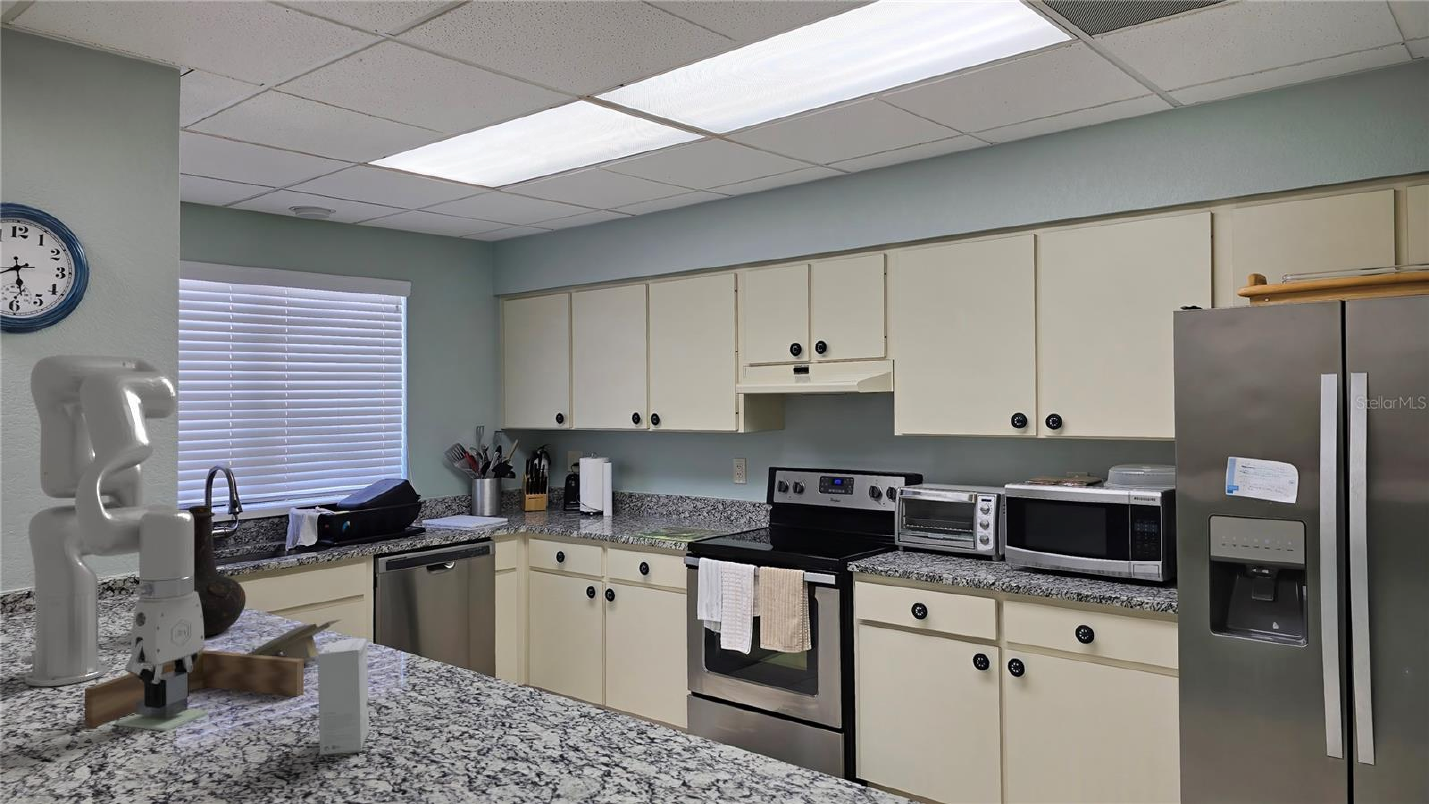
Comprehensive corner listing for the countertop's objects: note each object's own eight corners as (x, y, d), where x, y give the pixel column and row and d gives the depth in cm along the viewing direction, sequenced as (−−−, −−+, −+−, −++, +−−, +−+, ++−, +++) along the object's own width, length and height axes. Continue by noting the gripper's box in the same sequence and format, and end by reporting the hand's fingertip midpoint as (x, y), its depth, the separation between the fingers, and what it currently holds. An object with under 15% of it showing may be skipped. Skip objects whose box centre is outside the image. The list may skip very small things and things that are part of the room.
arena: (84, 726, 142) (84, 688, 142) (203, 683, 164) (203, 650, 164) (196, 741, 136) (196, 701, 136) (303, 693, 158) (303, 659, 158)
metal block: (166, 718, 143) (166, 680, 143) (136, 714, 144) (136, 676, 144) (187, 709, 146) (187, 672, 146) (158, 706, 148) (157, 669, 148)
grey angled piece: (249, 701, 166) (311, 647, 166) (223, 664, 167) (285, 610, 168) (300, 688, 182) (357, 638, 182) (277, 653, 184) (333, 604, 184)
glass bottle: (180, 648, 187) (179, 512, 186) (135, 636, 196) (135, 507, 196) (262, 630, 202) (262, 504, 202) (217, 619, 211) (217, 499, 211)
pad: (115, 724, 143) (115, 722, 143) (159, 708, 150) (159, 705, 150) (166, 731, 140) (166, 728, 140) (207, 713, 148) (207, 711, 148)
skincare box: (361, 753, 131) (361, 650, 131) (316, 756, 130) (316, 653, 130) (369, 732, 140) (369, 636, 140) (327, 735, 138) (327, 638, 138)
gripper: (139, 600, 136) (139, 722, 136) (227, 579, 152) (227, 688, 152) (100, 597, 138) (100, 717, 138) (191, 576, 154) (191, 684, 154)
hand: (167, 700), depth 145 cm, fingers closed on metal block, 4 cm apart
